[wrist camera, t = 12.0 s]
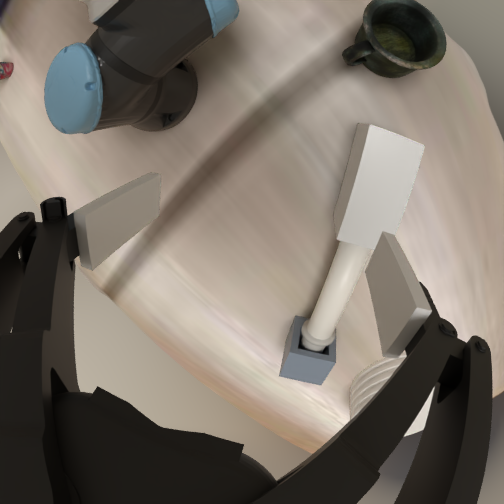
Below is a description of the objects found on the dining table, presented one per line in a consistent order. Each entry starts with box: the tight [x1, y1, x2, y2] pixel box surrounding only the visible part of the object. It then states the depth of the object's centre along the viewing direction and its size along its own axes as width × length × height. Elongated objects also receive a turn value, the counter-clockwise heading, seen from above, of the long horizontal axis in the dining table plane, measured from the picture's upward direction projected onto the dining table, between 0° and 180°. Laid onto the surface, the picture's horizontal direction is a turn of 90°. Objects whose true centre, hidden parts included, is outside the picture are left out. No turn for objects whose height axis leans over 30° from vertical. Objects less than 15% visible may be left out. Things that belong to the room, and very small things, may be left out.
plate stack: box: [350, 352, 435, 436], centre depth 55 cm, size 28×28×12 cm
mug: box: [342, 0, 447, 78], centre depth 25 cm, size 11×15×12 cm
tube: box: [298, 241, 371, 354], centre depth 45 cm, size 32×7×7 cm, turn 170°
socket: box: [279, 316, 336, 385], centre depth 53 cm, size 8×9×10 cm
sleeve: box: [333, 123, 425, 250], centre depth 36 cm, size 16×8×10 cm, turn 170°
